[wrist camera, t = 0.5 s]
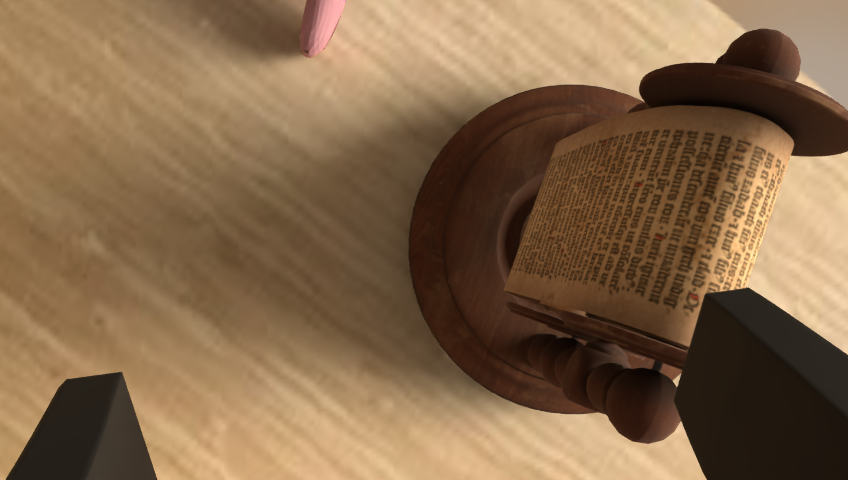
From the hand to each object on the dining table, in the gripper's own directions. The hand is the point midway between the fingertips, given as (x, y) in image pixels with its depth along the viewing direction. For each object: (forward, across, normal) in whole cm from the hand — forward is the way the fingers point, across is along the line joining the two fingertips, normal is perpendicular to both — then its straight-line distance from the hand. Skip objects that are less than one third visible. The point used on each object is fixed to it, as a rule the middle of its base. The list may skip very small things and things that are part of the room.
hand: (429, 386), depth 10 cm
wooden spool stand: (+22, -11, +16) cm, 29 cm away
